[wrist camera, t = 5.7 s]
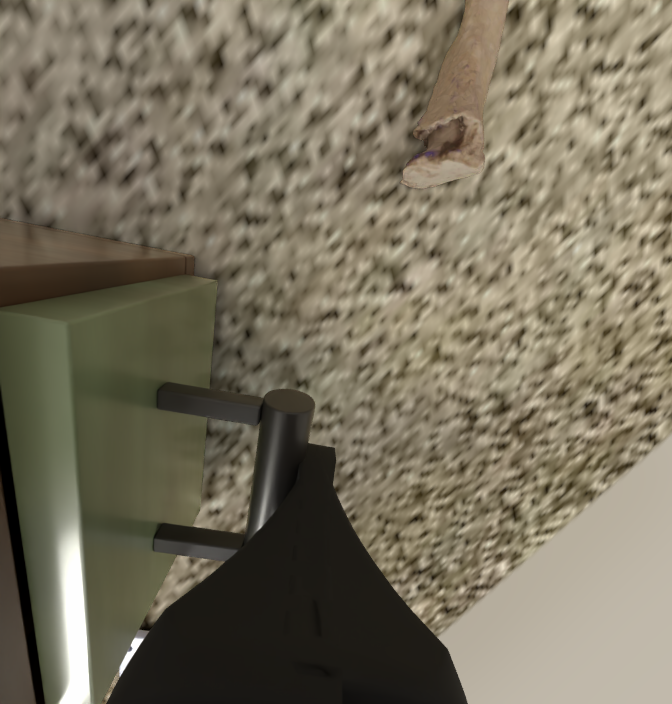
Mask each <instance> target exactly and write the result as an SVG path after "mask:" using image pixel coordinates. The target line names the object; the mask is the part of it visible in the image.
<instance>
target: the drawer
mask: <svg viewBox="0 0 672 704" xmlns="http://www.w3.org/2000/svg"><path fill="white" fill-rule="evenodd" d="M217 285H218V282H217V280H212V279H207V278H202V277H197V276H192V275H186V274H185V275H179V276H173V277H168V278H162V279H157V280H151V281H145V282H140V283H134V284H129V285H123V286H117V287H112V288H106V289H101V290H95V291H90V292H84V293H78V294H73V295H67V296H62V297H56V298H50V299H45V300H39V301H34V302H28V303H23V304H17V305H11V306H6V307H0V471H1V477H2V483H3V490H4V496H5V503H6V509H7V516H8V522H9V529H10V535H11V541H12V548H13V554H14V561H15V567H16V574H17V580H18V587H19V593H20V600H21V606H22V612H23V619H24V625H25V632H26V637H27V636H28V635H29V633H30V632H31V631H32V630H33V628H34V630H35V637H36V644H37V651H38V658H39V665H40V672H41V680H42V687H43V694H44V701H45V704H101V703H102V701H103V699H104V697H105V695H106V693H107V691H108V689H109V687H110V685H111V683H112V681H113V679H114V677H115V675H116V673H117V671H118V669H119V667H120V665H121V664H122V662H123V660H124V658H125V656H126V654H127V652H128V650H129V648H130V646H131V644H132V642H133V640H134V638H135V636H136V634H137V632H138V630H139V628H140V626H141V624H142V622H143V620H144V619H145V617H146V615H147V613H148V611H149V609H150V607H151V605H152V603H153V601H154V599H155V597H156V595H157V593H158V591H159V589H160V587H161V585H162V583H163V581H164V579H165V577H166V575H167V574H168V572H169V570H170V568H171V566H172V564H173V562H174V560H175V558H176V556H177V555H182V556H189V557H197V558H204V559H211V560H219V561H227V560H228V559H229V558H230V557H232V556H233V555H234V554H235V553H236V552H237V551H238V550H239V549H240V548H241V547H243V546H244V545H245V544H246V543H247V542H248V541H249V540H250V539H251V538H252V536H253V535H254V534H255V533H256V532H257V531H258V530H259V529H260V528H261V527H262V526H263V525H264V524H265V523H266V522H267V520H268V519H269V518H270V517H271V516H272V515H273V513H274V512H275V511H276V510H277V509H278V507H279V506H280V505H281V503H282V502H283V501H284V499H285V498H286V497H287V495H288V494H289V492H290V491H291V490H292V488H293V487H294V485H295V484H296V480H297V474H298V469H299V464H300V463H301V462H303V461H304V460H305V457H306V452H307V447H308V441H309V436H310V431H311V426H312V420H313V415H314V410H315V401H314V400H313V398H312V397H310V396H309V395H307V394H305V393H303V392H300V391H297V390H292V389H277V390H272V391H270V392H268V393H267V394H266V395H265V396H264V398H261V397H255V396H250V395H244V394H238V393H232V392H226V391H220V390H214V389H210V376H211V363H212V350H213V337H214V324H215V311H216V298H217ZM207 418H213V419H219V420H225V421H232V422H238V423H244V424H250V425H258V424H259V423H260V429H259V436H258V443H257V451H256V458H255V466H254V473H253V480H252V488H251V495H250V502H249V510H248V517H247V525H246V532H245V534H240V533H233V532H226V531H219V530H212V529H205V528H197V527H192V525H193V523H194V521H195V519H196V517H197V515H198V513H199V511H200V505H201V492H202V479H203V466H204V453H205V440H206V427H207ZM260 420H261V421H260Z"/></svg>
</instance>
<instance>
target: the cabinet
mask: <svg viewBox="0 0 672 704" xmlns="http://www.w3.org/2000/svg"><path fill="white" fill-rule="evenodd" d="M194 260H195V258H194V256H192V255H188V254H182V253H177V252H172V251H167V250H162V249H157V248H152V247H146V246H141V245H136V244H131V243H126V242H121V241H116V240H111V239H105V238H100V237H95V236H90V235H85V234H80V233H75V232H70V231H64V230H59V229H54V228H49V227H44V226H39V225H34V224H29V223H23V222H18V221H13V220H8V219H3V218H0V307H6V306H11V305H17V304H23V303H28V302H34V301H39V300H45V299H50V298H56V297H62V296H67V295H73V294H78V293H84V292H90V291H95V290H101V289H106V288H112V287H117V286H123V285H129V284H134V283H140V282H145V281H151V280H157V279H162V278H168V277H173V276H179V275H185V274H186V275H192V276H194ZM0 704H45V701H44V694H43V687H42V680H41V672H40V665H39V658H38V651H37V644H36V637H35V630H34V628H33V630H32V631H31V632H30V633H29V635H28V636H27V637H26V632H25V625H24V619H23V612H22V606H21V600H20V593H19V587H18V580H17V574H16V567H15V561H14V554H13V548H12V541H11V535H10V529H9V522H8V516H7V509H6V503H5V496H4V490H3V483H2V477H1V471H0Z"/></svg>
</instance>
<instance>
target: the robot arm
mask: <svg viewBox="0 0 672 704" xmlns="http://www.w3.org/2000/svg"><path fill="white" fill-rule="evenodd" d="M335 464H336V455H335V448H333V447H327V446H321V445H315V444H310V443H308V447H307V452H306V457H305V460H304V461H303V462H301V463H300V464H299V469H298V474H297V480H296V484H295V485H294V487H293V488H292V490H291V491H290V492H289V494H288V495H287V497H286V498H285V499H284V501H283V502H282V503H281V505H280V506H279V507H278V509H277V510H276V511H275V512H274V513H273V515H272V516H271V517H270V518H269V519H268V520H267V522H266V523H265V524H264V525H263V526H262V527H261V528H260V529H259V530H258V531H257V532H256V533H255V534H254V535H253V536H252V538H251V539H250V540H249V541H248V542H247V543H246V544H245V545H244V546H243V547H241V548H240V549H239V550H238V551H237V552H236V553H235V554H234V555H233V556H232V557H230V558H229V559H228V560H227V561H226V562H225V563H224V564H222V565H221V566H220V567H219V568H218V569H217V570H216V571H214V572H213V573H212V574H211V575H210V576H208V577H207V578H206V579H205V580H204V581H202V582H201V583H200V584H198V585H197V586H196V587H194V588H193V589H192V590H190V591H189V592H188V593H186V594H185V595H184V596H182V597H181V598H180V599H178V600H177V601H176V602H174V603H173V604H172V605H170V606H169V607H168V608H166V609H165V611H164V612H163V613H162V615H161V616H160V617H159V619H158V620H157V621H156V623H155V624H154V625H153V627H152V628H151V629H150V631H146V630H138V632H137V634H136V636H135V638H134V640H133V642H132V644H131V646H130V648H129V650H128V652H127V654H126V656H125V658H124V660H123V662H122V664H121V665H120V678H119V680H118V682H117V684H116V686H115V688H114V690H113V692H112V694H111V695H110V697H109V699H108V701H107V703H106V704H468V703H467V700H466V696H465V694H464V691H463V688H462V685H461V683H460V680H459V677H458V674H457V672H456V669H455V667H454V664H453V661H452V659H451V656H450V654H449V651H448V649H447V648H446V647H445V646H444V645H443V644H442V643H441V641H440V640H439V639H438V638H437V637H436V636H435V635H434V634H433V633H432V632H431V631H430V630H429V629H428V627H427V626H426V625H425V624H424V623H423V622H422V621H421V620H420V619H419V618H418V617H417V616H416V615H415V614H414V613H413V611H412V610H411V609H410V608H409V607H408V606H407V604H406V603H405V602H404V601H403V600H402V598H401V597H400V596H399V595H398V593H397V592H396V591H395V590H394V589H393V587H392V586H391V584H390V583H389V582H388V580H387V579H386V578H385V576H384V575H383V574H382V572H381V571H380V569H379V568H378V567H377V565H376V564H375V563H374V561H373V560H372V558H371V557H370V555H369V554H368V552H367V550H366V549H365V547H364V546H363V544H362V543H361V541H360V539H359V538H358V536H357V534H356V532H355V531H354V529H353V527H352V525H351V523H350V522H349V520H348V518H347V516H346V514H345V512H344V510H343V507H342V505H341V503H340V501H339V499H338V496H337V494H336V492H335V489H334V486H333V479H334V472H335Z"/></svg>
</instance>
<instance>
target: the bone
mask: <svg viewBox="0 0 672 704" xmlns="http://www.w3.org/2000/svg"><path fill="white" fill-rule="evenodd" d="M508 3H509V0H465V11H464V15H463V20H462V22H461V26H460V29H459V32H458V35H457V37H456V39H455V41H454V42H453V44H452V45H451V47H450V49H449V50H448V52H447V54H446V56H445V58H444V61H443V63H442V67H441V70H440V73H439V76H438V81H437V83H436V85H435V86H434V90H433V94H432V97H431V99H430V101H429V104H428V107H427V110H426V112H425V114H424V116H422V117H421V119H420V121H419V122H418V126H417V127H416V129H415V130H413V131H414V133H413V135H414V136H415V138H417V139H420V140H421V141H422V140H423V141H424V146H426V148H427V150H426V151H424V152H423V153H419V154H417V155H416V156H414V157H413V158H412V160H410V161H409V162H408V163H407V164H406V167H405V169H404V170H403V177H402V178H403V180H401V182H400V183H401V184H404V185H407V186H409V187H412V188H428V187H435V186H437V185H440V184H443V183H446V182H449V181H453V180H456V179H459V178H466V177H469V176H472V175H474V174H478V173H480V172H481V171H482V170H483V168H484V162H485V156H484V153H483V152H482V151H483V149H484V128H483V119H482V118H483V107H484V104H485V101H486V97H487V93H488V88H489V84H490V81H491V78H492V74H493V71H494V67H495V64H496V60H497V55H498V52H499V47H500V42H501V37H502V32H503V28H504V25H505V19H506V13H507V9H508Z"/></svg>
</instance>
